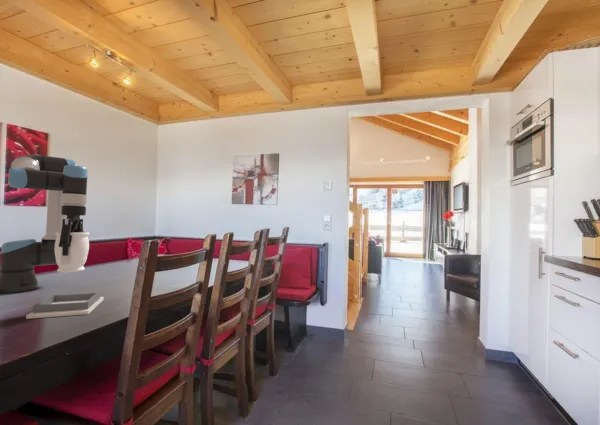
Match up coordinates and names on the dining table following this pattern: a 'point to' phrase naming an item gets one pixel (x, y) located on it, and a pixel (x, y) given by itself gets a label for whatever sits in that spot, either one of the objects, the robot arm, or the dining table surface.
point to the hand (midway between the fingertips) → (71, 262)
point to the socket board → (66, 305)
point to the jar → (73, 252)
